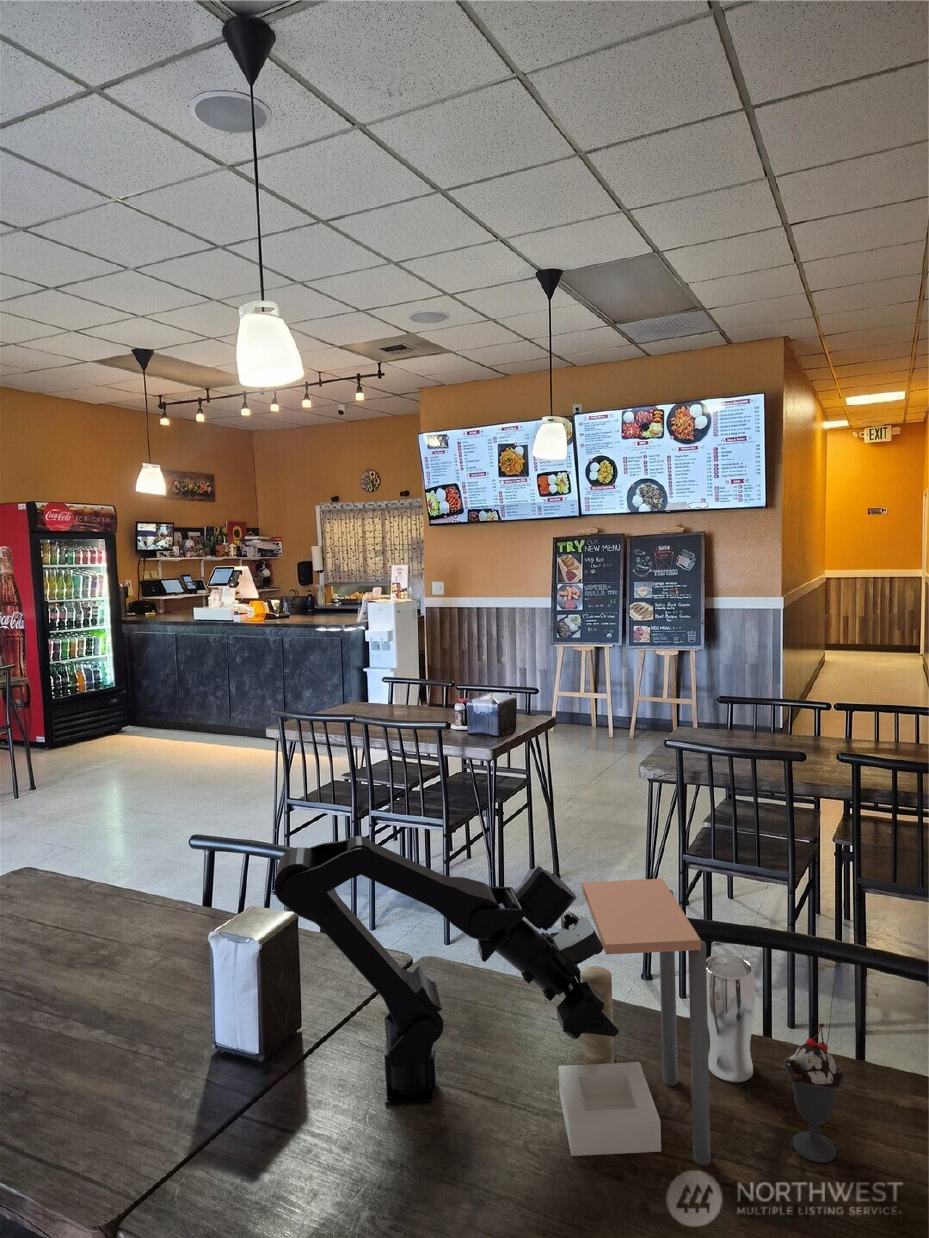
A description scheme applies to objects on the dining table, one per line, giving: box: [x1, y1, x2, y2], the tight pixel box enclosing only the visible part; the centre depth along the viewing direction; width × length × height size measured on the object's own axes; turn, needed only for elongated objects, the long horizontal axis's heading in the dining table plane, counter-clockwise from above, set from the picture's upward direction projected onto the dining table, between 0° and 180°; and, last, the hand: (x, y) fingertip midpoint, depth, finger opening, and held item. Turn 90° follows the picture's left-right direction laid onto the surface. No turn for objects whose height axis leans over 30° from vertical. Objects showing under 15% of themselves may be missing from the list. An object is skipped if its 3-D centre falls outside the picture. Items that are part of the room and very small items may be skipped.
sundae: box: [783, 1023, 845, 1164], centre depth 94 cm, size 7×7×15 cm
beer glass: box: [706, 953, 757, 1083], centre depth 109 cm, size 7×7×15 cm
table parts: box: [558, 878, 711, 1167], centre depth 100 cm, size 16×17×28 cm
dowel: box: [580, 965, 615, 1065], centre depth 112 cm, size 4×4×13 cm
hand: (606, 1015), depth 113 cm, fingers open, 8 cm apart
